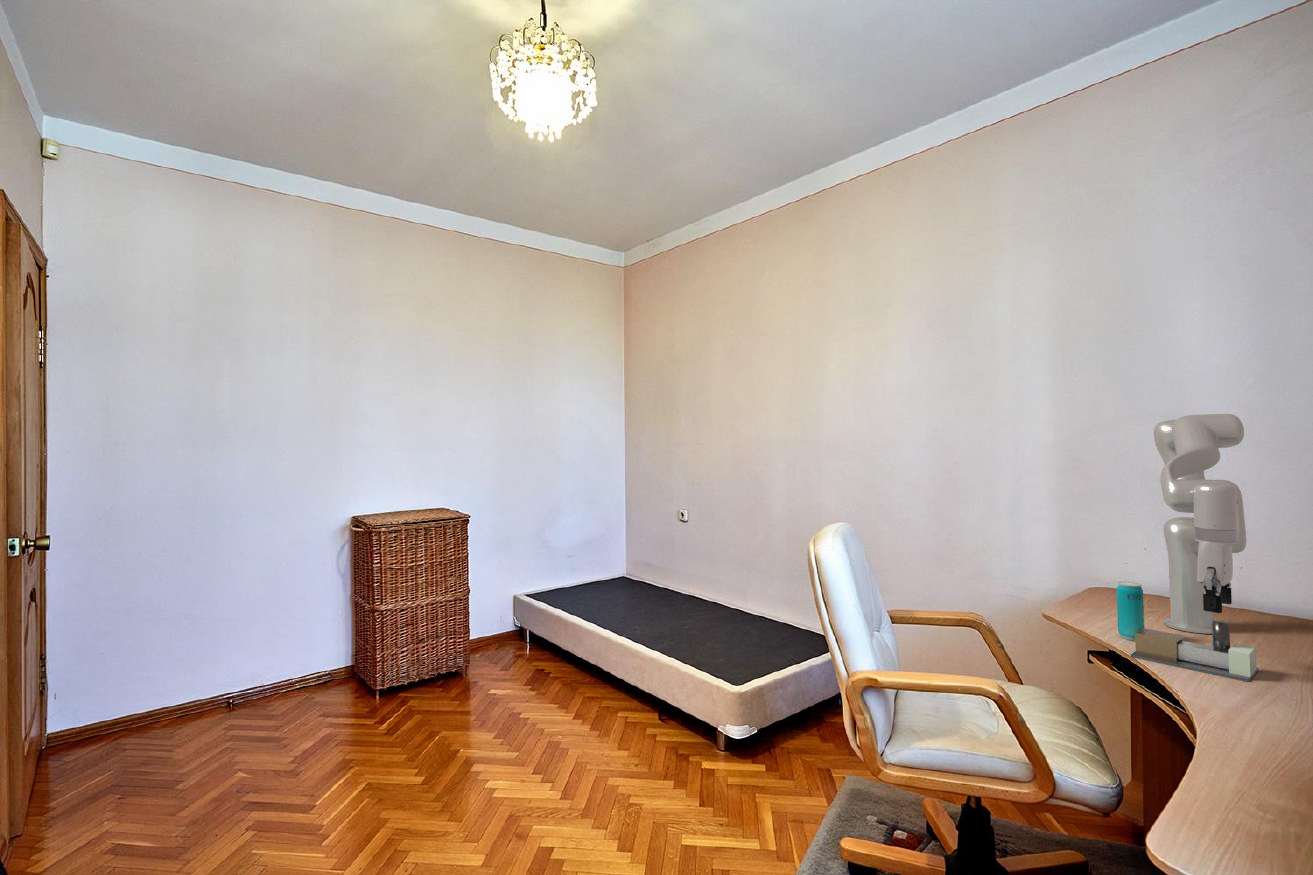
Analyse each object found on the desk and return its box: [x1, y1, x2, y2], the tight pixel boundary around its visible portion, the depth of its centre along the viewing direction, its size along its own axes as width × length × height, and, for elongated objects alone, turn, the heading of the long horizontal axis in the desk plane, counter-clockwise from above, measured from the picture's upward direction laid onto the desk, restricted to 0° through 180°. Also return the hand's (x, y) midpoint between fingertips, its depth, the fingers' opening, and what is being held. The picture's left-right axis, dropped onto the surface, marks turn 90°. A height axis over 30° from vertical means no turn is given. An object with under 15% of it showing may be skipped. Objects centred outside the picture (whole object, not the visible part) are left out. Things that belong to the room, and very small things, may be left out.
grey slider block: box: [1177, 620, 1231, 669], centre depth 146 cm, size 4×14×10 cm, turn 37°
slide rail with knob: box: [1130, 627, 1259, 683], centre depth 148 cm, size 11×22×6 cm, turn 37°
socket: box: [1228, 643, 1258, 677], centre depth 141 cm, size 7×4×5 cm, turn 127°
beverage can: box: [1116, 581, 1145, 642], centre depth 167 cm, size 6×6×15 cm
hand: (1217, 607), depth 145 cm, fingers open, 9 cm apart
